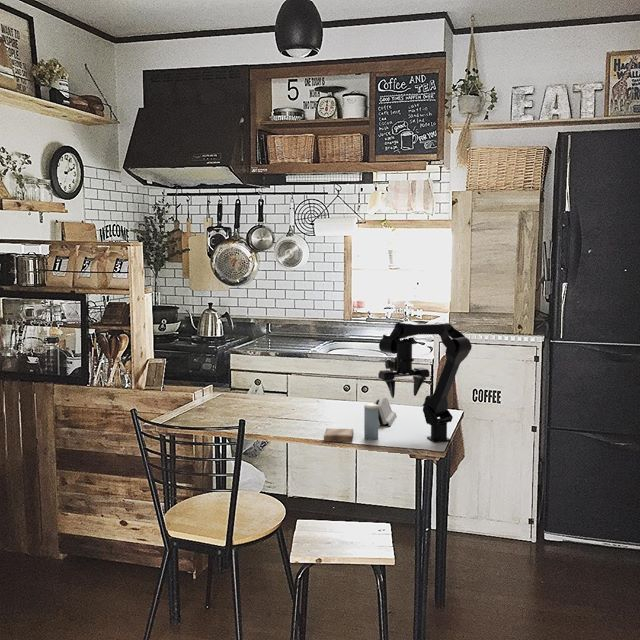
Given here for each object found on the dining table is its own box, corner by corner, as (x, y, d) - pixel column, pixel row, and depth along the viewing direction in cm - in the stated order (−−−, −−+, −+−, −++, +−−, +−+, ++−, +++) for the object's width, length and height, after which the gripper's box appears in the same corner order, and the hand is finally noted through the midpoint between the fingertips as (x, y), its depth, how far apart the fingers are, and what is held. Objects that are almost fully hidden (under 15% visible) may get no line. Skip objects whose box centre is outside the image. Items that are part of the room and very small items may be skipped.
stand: (353, 434, 284) (353, 428, 284) (352, 441, 274) (352, 435, 274) (326, 433, 285) (326, 428, 285) (324, 441, 275) (324, 435, 275)
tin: (380, 439, 278) (380, 406, 276) (367, 440, 276) (367, 407, 275) (375, 435, 283) (375, 403, 281) (362, 436, 281) (362, 404, 280)
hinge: (390, 426, 295) (381, 402, 295) (378, 430, 297) (370, 405, 296) (397, 416, 311) (388, 393, 311) (386, 419, 313) (377, 396, 312)
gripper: (416, 350, 296) (415, 390, 298) (372, 353, 290) (371, 394, 291) (430, 355, 286) (430, 396, 288) (385, 358, 279) (384, 400, 281)
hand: (403, 396), depth 287 cm, fingers open, 9 cm apart
